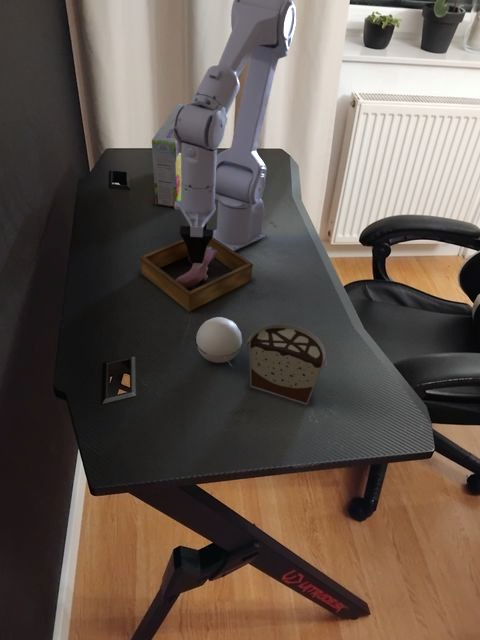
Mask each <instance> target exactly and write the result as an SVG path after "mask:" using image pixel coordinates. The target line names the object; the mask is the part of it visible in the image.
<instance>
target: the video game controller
mask: <svg viewBox="0 0 480 640" xmlns="http://www.w3.org/2000/svg"><path fill="white" fill-rule="evenodd" d="M216 252H217V250H215V249H214V248H212V247H208V246H207V248H206V252H205V256H204V259H203V262H202V263H191V262H190V259H189V256H187V257H188V258H187V260H188V261H189V264H192V266H191V268H190V270H189V271H187V272H186V273H184V274H182V275H180V276H178V277H177V278H176V279H175V280H176V281H177V282H178V283H180V284H181V285H182V286H184V287H185V288H186V289H189V288H192V287H194V286H196V285H198V284H200V283H201V282H202V280H204V281H206V280H207V279H208V278H209V274H207V272H208V269H209V267H208V266H209V265H210V264H211V263H212V262H213V260H214V259H215V258H214V256H215V254H216Z"/></svg>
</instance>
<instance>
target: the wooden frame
mask: <svg viewBox="0 0 480 640" xmlns="http://www.w3.org/2000/svg"><path fill="white" fill-rule="evenodd" d="M207 246H208V247H212V248H214V249H215V250H217V252H216V254H215V256H214V258H213V259H216V260H217V261H219V262H220V263H222V264H223V265H224V266H226V267H227V268H229V269H230V270H231V271H230V272H229V271H228V273H226V274H223V275H221V276H219V277H217V278H215V279H212V280H210V281H209V282H207V283H205V284H202V285H201V286H198V287H195V288H194V289H192V290H189V288H185V287H184V286H182V285H181V284H180V283H178V282H177V281H176V279H175V278H173V277H171V276H170V275H169V274H168V273H167V272H165V270H163V269H161V268H163V267H165V266H168V265H171V264H173V263H175V262H177V261H179V260H183V259H184V258H186V257H189V255H188V250H187V246H186V244H185V242H184V240H183V239H180V240H177V241H175V242H173V243H171V244H168V245H166V246H163V247H161V248H158V249H155V250H154V251H151V252H149V253H145V254H144V255H141V256H140V257H139V259H140V271H141V272H140V273H141V275H142V276H143V277H145V278H147V280H149V281H150V282H151V283H152V284H154V285H155V286H156V287H158V288H159V289H160V290H161V291H162V292H163V293H165V294H167V296H169V297H170V298H172V300H174V301H175V302H177V304H179V305H180V306H181V307H183V308H184V309H185V310H187V311H188V312H191V311H193V310H195V309H198V308H199V307H201V306H203V305H205V304H207V303H209V302H211V301H213V300H215V299H217V298H219V297H221V296H223V295H225V294H227V293H229V292H231V291H233V290H235V289H238V288H239V287H241V286H242V285H246V283H249V282H251V281H252V275H253V267H254V263H252V262H251V261H249V260H248V259H246V258H245V257H243V256H242V255H241V254H239V253H237V252H236V251H233V250H231V249H230V248H228V247H227V246H225V245H224V244H222V243H221V242H219V241H218V240H216V239H215V238H213V237H212V239H211V240H210V242H209V243H208V245H207Z"/></svg>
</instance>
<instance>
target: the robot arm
mask: <svg viewBox="0 0 480 640" xmlns="http://www.w3.org/2000/svg"><path fill="white" fill-rule="evenodd" d="M296 13H297V12H296V5H295V3H294V1H293V0H233V2H232V4H231V13H230V27H231V33H230V34H229V37H228V40H227V42H226V43H225V46H224V48H223V51H222V54H221V57H220V59H219V61H218V64H217V65H211V66H210V67H208V68H207V71H206V72H205V74H204V76H203V78H202V80H201V82H200V83H199V85H198V87H197V90H196V91H195V93H194V95H193V97H192V98H191V101H190V103H187V104H184V105H185V106H183V107H181V108H180V109H179V111H178V112H177V115H176V118H175V124H174V127H173V132H174V136H175V139H176V140H177V144H178V151H179V152H180V153H181V201H175V204H174V207H173V208H174V210H176V211H181V213H182V214H183V216H184V218H185V220H186V221H187V223H188V225H180V228H179V234H180V237H181V240H184V242H185V244H186V246H187V250H188V255H189V256H188V257H189V259H190V262H191V263H190V262H189V263H190V264H192V263H202V262H203V259H204V256H205V252H206V248H207V245H208V243H209V242H210V240H211V239H212V237H213V238H215V239H216V240H218V241H219V242H221V243H222V244H224V245H225V246H227V247H228V248H230V249H231V250H233V251H234V252H236V251H238V250H241V249H242V248H244V247H247V246H249V245H251V244H253V243H255V242H258V241H260V240H262V239H264V238H265V234H264V233H263V228H264V227H263V226H264V217H265V205H264V201H263V199H262V197H263V195H264V192H265V187H266V177H267V166H266V164H265V163H264V161H263V160H262V158H261V157H260V156H259V154H258V152H257V150H258V146H259V142H260V138H261V134H262V128H263V124H264V121H265V116H266V111H267V108H268V105H269V104H268V103H269V99H270V95H271V91H272V87H273V82H274V78H275V74H276V71H277V66H278V63H279V60H280V59H282V58H285V57H287V56H288V54H289V50H290V48H291V44H292V41H293V36H294V32H295V27H296V22H297V19H296V17H297V16H296V15H297V14H296ZM247 64H248V67H247V73H246V77H245V82H244V86H243V89H242V90H243V91H242V95H241V98H240V99H241V100H240V105H239V109H238V113H237V117H236V123H235V126H234V127H235V128H234V131H233V135H232V141H231V145H230V146H229V148H226V149H225V150H223V151H220V152H219V153H218V147H219V146H220V145H221V143H222V141H223V138H224V136H225V130H226V126H227V123H228V116H227V115H228V113H229V111H230V109H231V107H232V105H233V103H234V101H235V99H236V97H237V95H238V93H239V91H240V88H241V86H240V81H239V76H240V74H241V73H242V71H243V70H244V68H245V67H246V66H247ZM186 105H187V106H186ZM235 164H236V165H235ZM238 165H239V166H238ZM241 166H242V167H241ZM244 167H245V168H244ZM216 200H217V206H216V203H215V202H216ZM216 210H217V211H216ZM215 212H217V213H216V229H207V226H208V222H209V220H210V219H211V218H212V216H213V215H214V214H215Z"/></svg>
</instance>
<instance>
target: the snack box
mask: <svg viewBox="0 0 480 640" xmlns="http://www.w3.org/2000/svg"><path fill="white" fill-rule="evenodd" d="M185 105H186V106H187V104H182V103H177V104H176V105H175V106H174V108H173V109H172V111H171V112H170V114H169V115H168V116H167V118H166V119H165V121H164V122H163V124H162V125H161V127H160V128H158V131H157V132H156V133H155V135H154V136H153V138H152V139H151V150H152V151H151V152H152V168H153V181H154V182H153V183H154V198H155V199H154V203H155V205H156V206H164V207H170V208H174V204H175V201H181V153H180V152H179V151H178V144H177V140H176V139H175V136H174V132H173V127H174V124H175V118H176V115H177V112H178V111H179V109H180V108H181V107H183V106H185Z"/></svg>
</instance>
